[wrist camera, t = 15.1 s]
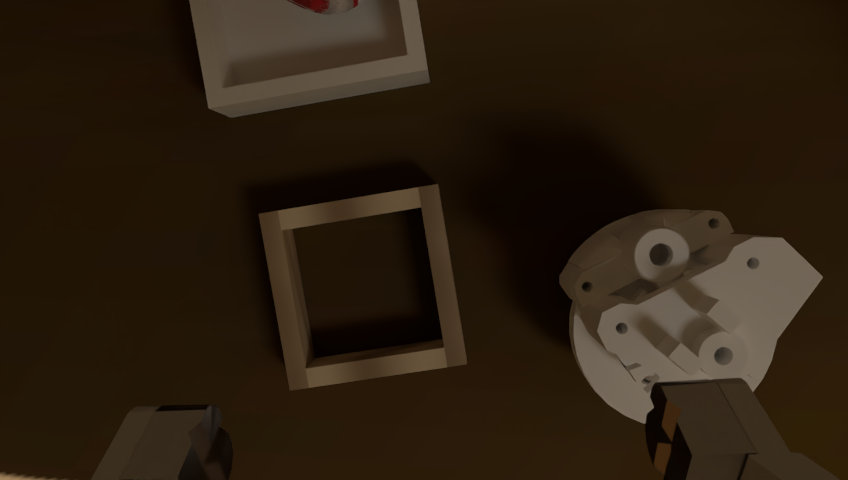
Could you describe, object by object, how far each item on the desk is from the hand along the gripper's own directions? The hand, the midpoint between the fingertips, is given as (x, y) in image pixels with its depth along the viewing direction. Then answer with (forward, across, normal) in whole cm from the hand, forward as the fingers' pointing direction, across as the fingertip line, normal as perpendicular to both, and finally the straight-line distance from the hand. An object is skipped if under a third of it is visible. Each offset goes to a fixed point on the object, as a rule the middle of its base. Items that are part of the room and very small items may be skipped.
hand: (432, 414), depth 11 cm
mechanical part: (+22, -12, +16) cm, 30 cm away
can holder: (+23, +5, +14) cm, 27 cm away
